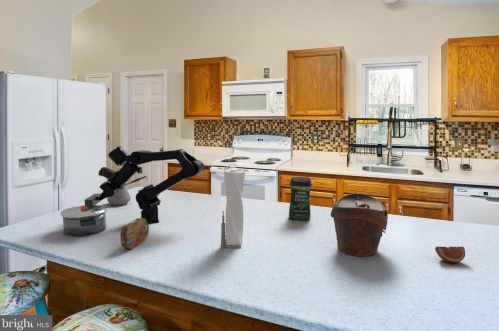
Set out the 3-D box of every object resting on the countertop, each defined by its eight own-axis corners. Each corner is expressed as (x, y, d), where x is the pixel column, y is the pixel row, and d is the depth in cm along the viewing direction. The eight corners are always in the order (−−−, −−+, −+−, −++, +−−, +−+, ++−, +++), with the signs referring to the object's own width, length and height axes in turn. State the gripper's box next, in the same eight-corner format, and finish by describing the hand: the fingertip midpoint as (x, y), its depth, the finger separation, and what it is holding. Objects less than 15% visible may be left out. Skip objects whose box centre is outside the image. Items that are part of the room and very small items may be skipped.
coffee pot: (102, 206, 172) (101, 176, 170) (114, 201, 184) (113, 173, 182) (143, 207, 170) (142, 177, 168) (152, 202, 181) (151, 174, 179)
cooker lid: (99, 218, 127) (98, 207, 127) (53, 219, 126) (52, 208, 125) (117, 202, 152) (117, 193, 151) (79, 202, 150) (78, 193, 150)
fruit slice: (439, 265, 104) (441, 249, 104) (429, 256, 111) (430, 241, 110) (468, 266, 104) (470, 250, 103) (456, 257, 110) (458, 242, 110)
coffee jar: (288, 220, 150) (289, 178, 148) (289, 215, 158) (289, 175, 155) (310, 221, 149) (312, 178, 146) (310, 216, 156) (311, 175, 154)
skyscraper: (223, 239, 126) (222, 163, 122) (245, 239, 126) (245, 163, 122) (220, 247, 118) (220, 166, 114) (244, 248, 117) (244, 166, 114)
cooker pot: (111, 234, 130) (110, 216, 129) (66, 242, 122) (65, 222, 121) (99, 218, 152) (98, 202, 151) (60, 223, 144) (59, 207, 143)
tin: (127, 252, 113) (126, 227, 112) (119, 252, 114) (118, 227, 112) (149, 237, 128) (149, 215, 126) (142, 236, 128) (141, 214, 127)
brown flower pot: (356, 265, 103) (360, 207, 101) (318, 244, 122) (320, 194, 120) (400, 257, 111) (405, 202, 108) (358, 238, 129) (360, 190, 127)
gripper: (116, 158, 154) (92, 182, 155) (103, 163, 136) (76, 191, 136) (135, 175, 156) (111, 199, 157) (125, 182, 138) (97, 210, 138)
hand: (99, 199), depth 147 cm, fingers closed, pressing on cooker lid
